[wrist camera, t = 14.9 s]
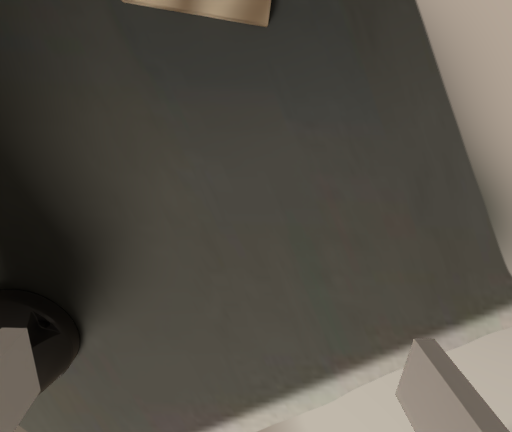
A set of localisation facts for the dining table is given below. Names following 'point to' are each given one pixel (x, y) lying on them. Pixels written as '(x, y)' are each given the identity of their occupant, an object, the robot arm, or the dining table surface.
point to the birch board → (216, 9)
